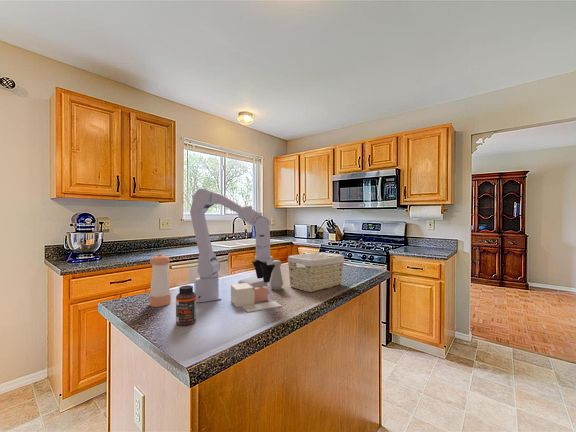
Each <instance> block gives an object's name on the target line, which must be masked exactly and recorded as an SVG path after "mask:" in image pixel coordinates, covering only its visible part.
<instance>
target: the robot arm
mask: <svg viewBox="0 0 576 432" xmlns="http://www.w3.org/2000/svg"><path fill="white" fill-rule="evenodd" d="M214 205H221V206H223V207H225V208H227V209H228V210H230V211H233V212H234V213H236V214H237V216H238V218H239V219H240V220H242V221H244V222H245V223H247V224H248V225H250V226H253V227H254V228H255V255H254V260H252V261H251V262H252V264H253V267H254V271H255V275H256V278H258V279H263V280H264V283H267V284H268V283H270V281H271V275H272V271H273V269H274V267H275V264H272V261H273V258H274V256H272V255H271V233H270V232H271V230H270V227H271V225H272V223H271V220H270V218H269V217H268V216H267V215H263V213H262V212H258V211H257V210H255V209H254V208H253V207H252V206H251V205H243V206H241V205H240V204H238V203H236V202H235V201H233V200H232V199H230V198H228V197H227V196H225V195H223V194H221V193H218V192H216V191H214V190H212V189H206V188H199V189H198V190H196V191H195V192H194V193H193V195H192V203H191V206H190V211H189V213H190V218H191V222H192V227H193V231H194V235H195V240H196V245H197V250H198V253H199V256H198V259H197V264H198V265H197V269H196V270H197V273H198V277H195V278H194V280H193V285H194V286H193V292H194V293H195V294H196V304H197V303H206V302H215V301H220V300H222V297H221V296H220V293H219V291H220V290H219V286H220V285H219V282H220V281H219V279H220V277H219V270H220V269H221V262H220V260H218V258H217V255H216V253H215V252H214V251H213V247H212V242H211V237H210V233H209V228H208V224H207V220H206V215H205V214H206V213H207V211H208V210H209V209H210V208H211V207H213V206H214Z"/></svg>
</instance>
